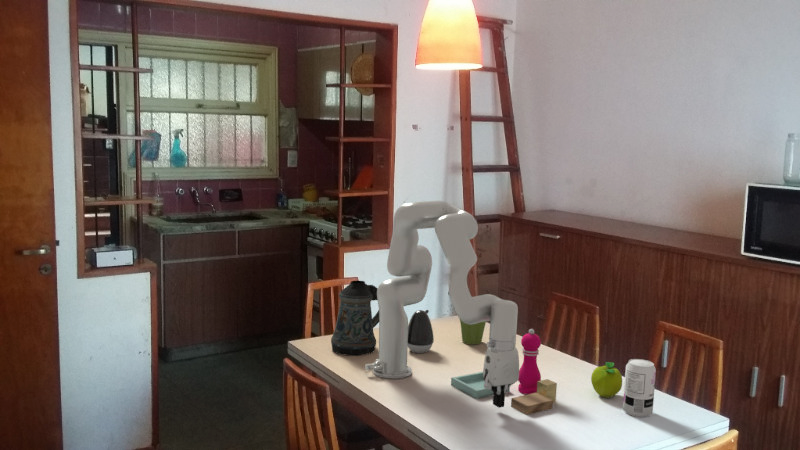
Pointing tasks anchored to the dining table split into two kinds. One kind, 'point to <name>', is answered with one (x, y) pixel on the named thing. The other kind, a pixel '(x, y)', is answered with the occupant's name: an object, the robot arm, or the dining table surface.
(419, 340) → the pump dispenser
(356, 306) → the beer stein
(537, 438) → the dining table surface
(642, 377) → the supplement can
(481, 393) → the tray
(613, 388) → the fruit
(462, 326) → the plant pot
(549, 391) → the block
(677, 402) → the dining table surface
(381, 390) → the dining table surface
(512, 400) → the flat wooden chunk
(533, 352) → the pepper mill
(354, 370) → the dining table surface
